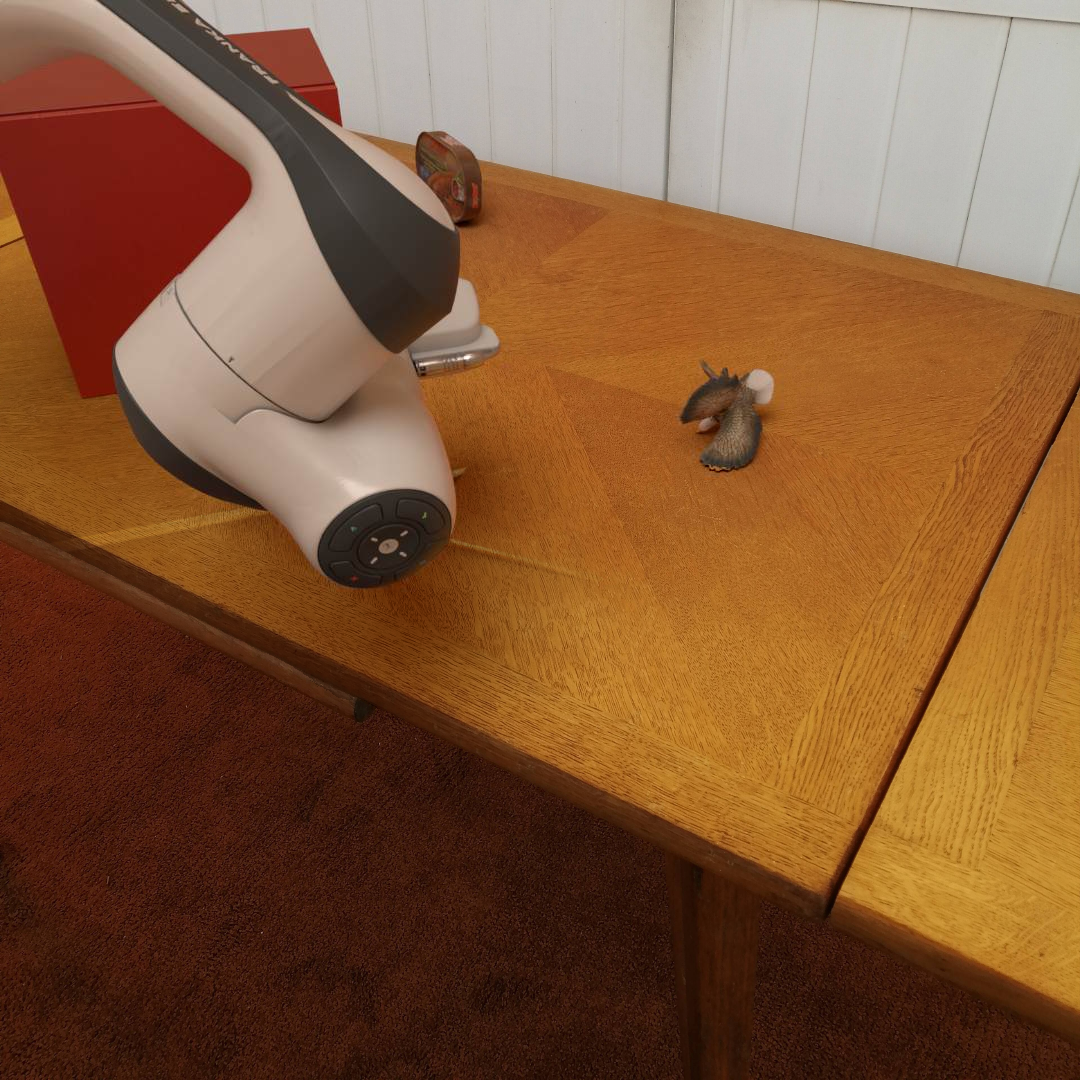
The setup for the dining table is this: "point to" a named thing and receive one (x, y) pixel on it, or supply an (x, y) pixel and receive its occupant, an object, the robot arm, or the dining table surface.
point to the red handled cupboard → (118, 213)
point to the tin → (450, 174)
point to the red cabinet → (104, 86)
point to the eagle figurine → (729, 414)
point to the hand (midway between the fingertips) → (317, 287)
